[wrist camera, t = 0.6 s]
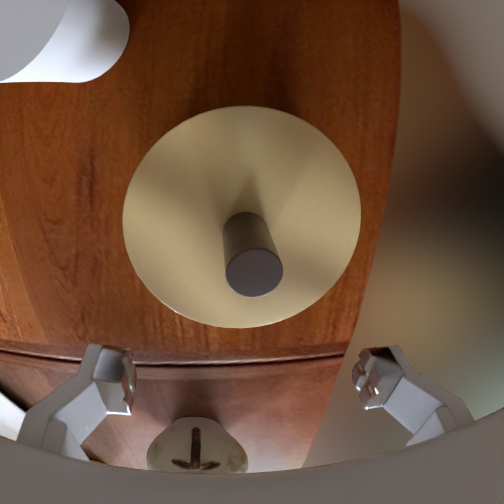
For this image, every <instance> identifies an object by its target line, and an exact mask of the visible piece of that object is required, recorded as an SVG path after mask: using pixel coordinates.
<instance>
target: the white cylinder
mask: <svg viewBox="0 0 504 504" xmlns="http://www.w3.org/2000/svg"><path fill="white" fill-rule="evenodd" d="M129 30H130V27H129V20H128V16H127V14H126V12H125V11H124V9H123V8H122V7H121V6H120V5H119V4H118V3H117V2H116V1H115V0H0V83H2V82H85V81H89V80H92V79H94V78H96V77H98V76H100V75H102V74H103V73H105V72H106V71H107V70H109V69H110V68H111V67H112V66H113V65H114V64H115V63H116V62H117V60H118V59H119V58H120V56H121V55H122V53H123V51H124V49H125V47H126V44H127V41H128V37H129Z"/></svg>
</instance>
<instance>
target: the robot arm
mask: <svg viewBox="0 0 504 504" xmlns="http://www.w3.org/2000/svg"><path fill="white" fill-rule="evenodd" d="M133 356H134V355H133V351H132V349H131V348H126V347H118V346H110V345H101V344H94V343H90V344H89V345H88V346H87V348H86V351H85V354H84V356H83V359H82V362H81V364H80V367H79V370H78V373H77V376H76V378H75V377H71V378H70V379H69V380H67V381H66V382H65V383H63V384H62V385H61V386H59V387H58V388H57V389H55V390H54V391H53V392H51V393H50V394H49V395H47V396H46V397H45V398H44V399H42V400H41V401H40V402H38V403H37V404H36V405H34V406H33V407H32V408H30V409H29V410H28V411H26V414H25V417H24V419H23V422H22V425H21V428H20V430H19V433H18V436H17V439H16V441H14V440H11V439H8V438H6V437H3V436H0V504H504V407H503V408H502V409H499V410H497V411H496V412H494V413H491V414H489V415H487V416H485V417H483V418H481V419H478V420H476V421H474V419H473V417H472V415H471V414H470V412H469V410H468V409H467V407H466V406H465V404H464V402H463V401H462V399H460V398H459V397H457V396H455V395H454V394H452V393H451V392H449V391H447V390H446V389H444V388H443V387H441V386H439V385H437V384H436V383H435V382H433V381H431V380H430V379H428V378H426V377H425V376H423V375H422V374H420V373H416V372H415V371H414V369H413V367H412V366H411V364H410V362H409V361H408V359H407V357H406V356H405V354H404V353H403V351H402V349H401V348H400V347H399V346H398V345H392V346H386V347H385V346H383V347H374V348H364V349H363V350H361V352H360V354H359V358H360V360H359V361H358V362H357V363H356V364H355V365H354V367H353V370H352V381H353V384H354V386H355V388H356V389H358V390H359V391H360V394H359V398H360V400H361V403H362V405H363V408H364V409H370V408H376V407H383V408H384V409H385V410H386V411H387V412H389V413H390V414H391V415H392V416H393V417H394V418H395V419H397V420H398V421H399V422H400V423H401V424H402V425H403V426H404V427H406V428H407V429H408V430H409V431H410V432H411V433H413V434H414V435H413V436H412V438H411V439H410V440H409V441H408V442H407V444H406V446H405V447H402V448H399V449H395V450H392V451H388V452H384V453H380V454H376V455H372V456H368V457H364V458H359V459H354V460H350V461H344V462H339V463H334V464H328V465H322V466H315V467H309V468H301V469H292V470H283V471H272V472H258V473H237V474H196V473H175V472H162V471H151V470H142V469H133V468H126V467H119V466H113V465H107V464H101V463H96V462H91V461H89V459H88V457H87V456H86V454H85V453H84V451H83V450H82V448H81V447H80V444H81V443H82V442H83V441H84V440H85V439H86V438H87V437H88V435H89V434H90V433H91V432H92V431H93V430H94V429H95V428H96V427H97V426H98V425H99V423H100V422H101V421H102V420H103V419H104V418H105V417H106V416H107V415H108V414H107V413H111V414H120V415H130V416H131V412H132V406H133V397H132V393H133V392H134V391H135V389H136V380H137V373H136V366H135V364H134V363H133V362H132V361H133Z"/></svg>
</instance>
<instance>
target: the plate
mask: <svg viewBox="0 0 504 504" xmlns="http://www.w3.org/2000/svg"><path fill="white" fill-rule="evenodd" d="M25 414H26V411H25V410H24V409H23V408H21V407H20V406H19V405H17V404H16V403H15V402H14V401H13V400H11V399H10V398H9V397H8V396H7V395H5V394H4V393H3V392H2V391H1V390H0V432H1V433H3V434H4V435H5V436H7V437H8V438H10V439H11V440H14V441H16V439H17V436H18V433H19V430H20V428H21V425H22V422H23V419H24V417H25Z"/></svg>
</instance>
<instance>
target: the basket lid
mask: <svg viewBox="0 0 504 504" xmlns="http://www.w3.org/2000/svg"><path fill="white" fill-rule="evenodd" d="M360 223H361V204H360V196H359V191H358V187H357V184H356V180H355V177H354V175H353V173H352V170H351V168H350V166H349V164H348V162H347V161H346V159H345V158H344V156H343V154H342V153H341V151H340V150H339V149H338V148H337V147H336V146H335V144H334V143H333V142H332V141H331V140H330V139H329V138H328V137H327V136H326V135H324V134H323V133H322V132H321V131H320V130H319V129H317V128H316V127H314V126H313V125H311V124H310V123H308V122H306V121H305V120H303V119H301V118H299V117H296V116H294V115H292V114H290V113H287V112H283V111H280V110H276V109H273V108H267V107H260V106H230V107H223V108H217V109H214V110H210V111H207V112H204V113H201V114H198V115H196V116H194V117H192V118H190V119H188V120H185V121H183V122H182V123H180V124H179V125H177V126H176V127H174V128H173V129H171V130H170V131H168V132H167V133H166V134H165V135H164V136H163V137H161V138H160V139H159V140H158V141H157V142H156V143H155V144H154V145H153V146H152V147H151V148H150V150H149V151H148V152H147V153H146V154H145V156H144V157H143V158H142V160H141V162H140V163H139V165H138V167H137V168H136V170H135V172H134V174H133V176H132V179H131V181H130V183H129V186H128V189H127V193H126V197H125V201H124V208H123V234H124V240H125V245H126V249H127V252H128V255H129V258H130V261H131V263H132V265H133V267H134V269H135V271H136V273H137V274H138V276H139V277H140V279H141V280H142V282H143V283H144V284H145V286H146V287H147V288H148V289H149V290H150V291H151V292H152V293H153V295H154V296H156V297H157V298H158V299H159V300H160V301H161V302H163V303H164V304H165V305H167V306H168V307H169V308H171V309H172V310H174V311H175V312H177V313H179V314H181V315H183V316H185V317H187V318H190V319H192V320H195V321H198V322H200V323H204V324H208V325H212V326H218V327H226V328H248V327H257V326H263V325H268V324H271V323H275V322H278V321H281V320H284V319H286V318H289V317H291V316H293V315H295V314H297V313H299V312H301V311H303V310H304V309H306V308H307V307H309V306H310V305H312V304H313V303H315V302H316V301H317V300H318V299H320V298H321V297H322V296H323V295H324V294H325V293H326V292H327V291H328V290H329V289H330V288H331V287H332V286H333V285H334V284H335V283H336V281H337V280H338V279H339V277H340V276H341V275H342V273H343V272H344V270H345V268H346V267H347V265H348V263H349V261H350V259H351V257H352V254H353V252H354V250H355V247H356V243H357V240H358V236H359V230H360Z"/></svg>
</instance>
